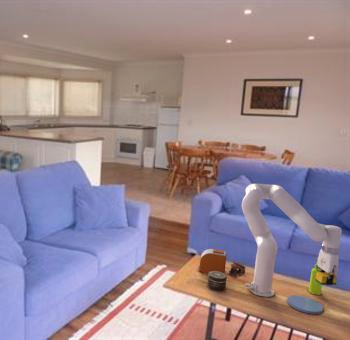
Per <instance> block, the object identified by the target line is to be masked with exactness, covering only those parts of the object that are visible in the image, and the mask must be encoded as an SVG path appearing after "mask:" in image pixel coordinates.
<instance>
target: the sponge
mask: <svg viewBox="0 0 350 340" xmlns="http://www.w3.org/2000/svg"><path fill="white" fill-rule="evenodd" d="M330 275H332V273H330ZM327 277H328V273H327V272H316V278H315V281H317V282H318V283H320V284H321V285H322V286H325V285H326V280H327ZM337 279H338V276H336V277H335V278H333V285H334V286H336V285H337ZM333 285H332V286H333ZM326 286H327V285H326Z"/></svg>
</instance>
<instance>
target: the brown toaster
mask: <svg viewBox="0 0 350 340" xmlns="http://www.w3.org/2000/svg"><path fill="white" fill-rule="evenodd" d="M227 252H228V251H226V250H221V249H215V248H208V249H205V250H204V251H203V252H202V253H201V256H200V259H199V267H198V272H201V273H205V274H206V273H207V274H209V272H211V271H219V272H222V273H224V274H225V275H226V273H225V272H226V263H227V255H228V253H227Z"/></svg>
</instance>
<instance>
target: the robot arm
mask: <svg viewBox="0 0 350 340" xmlns="http://www.w3.org/2000/svg"><path fill="white" fill-rule="evenodd" d="M263 200H271V201H272V203H274V205H275V206H277V207H278V209H280V210H281V211H282V212H283V213H284V214H285V215H286V216H287V217H288V219H290V220H291V221H292V222H293V223H295V224H296V225H297V226H298V227H299V228H300V229H301V230H302V231H303V232H304V233H305V234H306V235H308V237H309V238H311V239H312V240H313V241H314V242H317V243H321V249H320V250H319V253H318V256H317V258H318V260H317V261H318V262H317V261H316V263H317V265H318V267H319V269H320V270H319V272H327V273H328V277H327V280H326V286H333V278H335V277H336V276H337V277H339V273H338V270H339V263H340V262H339V257H340V255H339V252H340V246H341V239H342V233H343V230H342V227H341V226H340V227H339V226H337V225H332V224H324V223H319V222H317V221H316V220H315V219H314V218H313V217H312V216H311V215H310V214H309V212H308V211H307V210H306V208H305V207H304V206H302V205H301V204H300V203H299V202H298V200H296V199H295V198H294V197H293V196H292V195H291V194H290V193H289V192H287V190H285V188H283V187H282V186H281V185H279V184H267V183H265V184H264V183H251V184H249V185H247V186H246V188H245V195H244V197H243V198H242V200H241V201H242V202H241V210H242V213H243V215H244V218H245V220H246V222H247V225H248V228H249V231H250V232H251V234H252V236H253V238H254V240H255V242H256V246H257V251H256V256H255V263H254V273H253V278H252V279H253V280H252V281H251V282H249V283H244V284H243V287H244V288H248V290H249V291H250V292H251V293H252V294H254V295H256V296H259V297H263V298H269V297H270V298H271V297H274V295H275V291H274V290H273V289H272V288H273V280H274V272H275V267H276V265H275V264H276V260H277V259H276V258H277V255H278V250H279V248H278V243H277V241H276V239H275V237H274V235H273V234H272V231H271V229H270V226H269V224H268V222H267V220H266V218H265V217H264V215H263V214H262V211H261V209H260V203H261V202H262V201H263ZM330 273H332V275H330Z"/></svg>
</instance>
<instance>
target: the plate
mask: <svg viewBox="0 0 350 340" xmlns="http://www.w3.org/2000/svg"><path fill="white" fill-rule="evenodd" d="M287 304H288V305H289V306H290V307H291V308H293V309H294V310H297V311H299V312H302V313H306V314H313V315H317V314H322V312H323V311H324V308H323V305H322V304H321V303H319V302H318V301H317V300H315V299H313V298H310V297H307V296H303V295H290V296H288V297H287Z"/></svg>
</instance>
